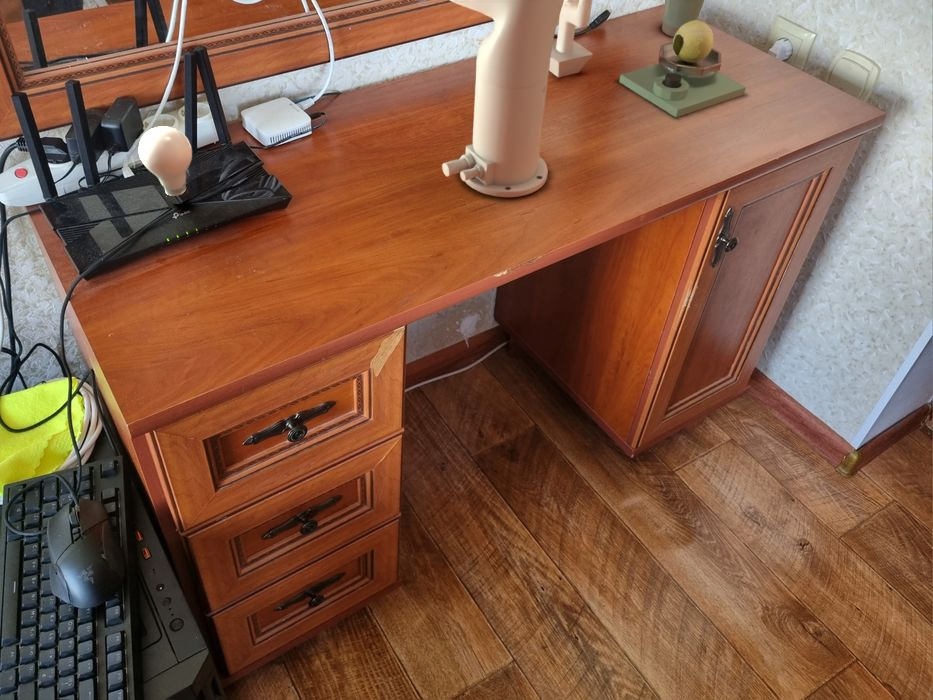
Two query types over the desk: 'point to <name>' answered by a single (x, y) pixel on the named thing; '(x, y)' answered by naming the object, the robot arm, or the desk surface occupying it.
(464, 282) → the desk surface
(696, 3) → the coffee cup
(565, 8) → the figurine
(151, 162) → the lightbulb
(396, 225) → the desk surface
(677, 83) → the button
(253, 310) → the desk surface
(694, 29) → the tennis ball
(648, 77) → the scale
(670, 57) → the pan
